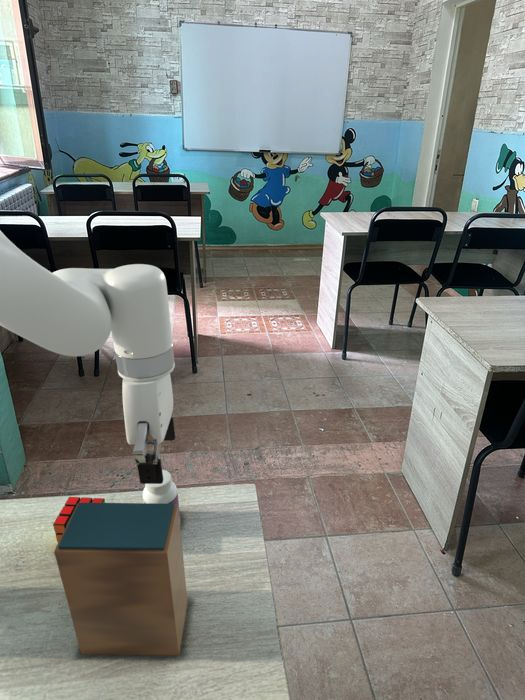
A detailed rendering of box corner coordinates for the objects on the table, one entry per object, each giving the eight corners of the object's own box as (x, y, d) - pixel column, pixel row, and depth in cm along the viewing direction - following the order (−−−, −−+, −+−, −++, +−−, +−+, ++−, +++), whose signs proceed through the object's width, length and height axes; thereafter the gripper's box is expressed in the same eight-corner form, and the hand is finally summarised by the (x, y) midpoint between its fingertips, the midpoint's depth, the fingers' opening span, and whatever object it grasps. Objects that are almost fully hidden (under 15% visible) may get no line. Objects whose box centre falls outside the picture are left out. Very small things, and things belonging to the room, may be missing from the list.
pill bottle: (187, 518, 78) (183, 472, 74) (168, 541, 74) (162, 494, 70) (159, 507, 81) (154, 462, 76) (139, 530, 76) (133, 483, 72)
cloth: (58, 549, 51) (57, 546, 51) (79, 504, 57) (79, 502, 56) (163, 550, 51) (163, 547, 51) (174, 506, 57) (174, 503, 56)
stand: (81, 655, 59) (53, 551, 51) (99, 603, 65) (77, 503, 57) (179, 656, 59) (167, 552, 51) (187, 604, 65) (178, 504, 57)
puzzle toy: (96, 554, 72) (90, 526, 70) (59, 552, 72) (52, 524, 70) (109, 525, 77) (104, 498, 75) (75, 523, 77) (69, 496, 75)
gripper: (133, 331, 72) (147, 425, 79) (96, 393, 56) (117, 502, 64) (183, 331, 72) (192, 425, 79) (160, 392, 56) (174, 502, 64)
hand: (159, 459), depth 72 cm, fingers open, 9 cm apart
